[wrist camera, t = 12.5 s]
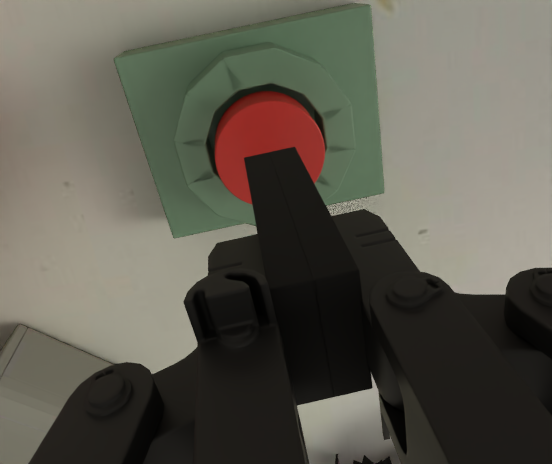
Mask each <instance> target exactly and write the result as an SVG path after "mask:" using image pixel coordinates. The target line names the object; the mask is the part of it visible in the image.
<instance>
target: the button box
mask: <svg viewBox="0 0 552 464" xmlns="http://www.w3.org/2000/svg"><path fill="white" fill-rule="evenodd" d="M114 62H115V65H116V68H117V71H118V74H119V77H120V80H121V83H122V86H123V89H124V92H125V95H126V98H127V101H128V104H129V107H130V110H131V113H132V116H133V119H134V122H135V125H136V128H137V131H138V134H139V137H140V140H141V143H142V146H143V149H144V152H145V155H146V158H147V161H148V164H149V167H150V170H151V173H152V176H153V179H154V182H155V184H156V187H157V190H158V193H159V196H160V199H161V202H162V205H163V208H164V211H165V214H166V217H167V220H168V223H169V226H170V229H171V232H172V235H173V238H179V237H183V236H188V235H193V234H197V233H202V232H207V231H211V230H216V229H220V228H225V227H230V226H234V225H239V224H244V223H246V224H250V225H254V226H256V222H255V216H254V211H253V205H252V204H249V203H246V202H244V201H242V200H240V199H239V198H237V197H236V196H234V195H233V194H232V193H231V192H230V191H229V190H228V189H227V188H226V187H225V185H224V184H223V182H222V181H221V179H220V177H219V174H218V171H217V169H216V163H215V134H216V130H217V126H218V124H219V121H220V119H221V117H222V116H223V114H224V113H225V111H226V110H227V109H228V108H229V107H230V106H231V105H232V104H233V103H234V102H236V101H237V100H238V99H240V98H242V97H244V96H246V95H248V94H251V93H255V92H260V91H274V92H279V93H283V94H285V95H288V96H290V97H292V98H293V99H295V100H297V101H298V102H299V103H300V104H301V105H302V106H303V107H304V108H305V109H306V110H307V111H308V113H309V114H310V116H311V117H312V118H313V120H314V121H315V122H316V124H317V125H318V127H319V129H320V131H321V133H322V136H323V140H324V145H325V159H324V164H323V168H322V171H321V173H320V175H319V177H318V179H317V181H316V182H315V186H316V188H317V190H318V192H319V194H320V196H321V198H322V199H323V201H324V203H325V205H326V206H327V205H331V204H336V203H341V202H345V201H350V200H355V199H359V198H364V197H368V196H373V195H378V194H382V193H384V179H383V165H382V152H381V138H380V124H379V110H378V96H377V82H376V69H375V55H374V41H373V27H372V13H371V5H369V4H360V3H352V4H347V5H343V6H338V7H333V8H328V9H324V10H319V11H314V12H309V13H304V14H300V15H295V16H290V17H285V18H281V19H276V20H271V21H266V22H262V23H257V24H252V25H247V26H242V27H238V28H233V29H228V30H223V31H219V32H214V33H209V34H204V35H200V36H195V37H190V38H185V39H180V40H176V41H171V42H166V43H161V44H157V45H152V46H147V47H142V48H138V49H133V50H128V51H124V52H123V53H121V54H120V55H118V56H117V57H115V58H114Z"/></svg>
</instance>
